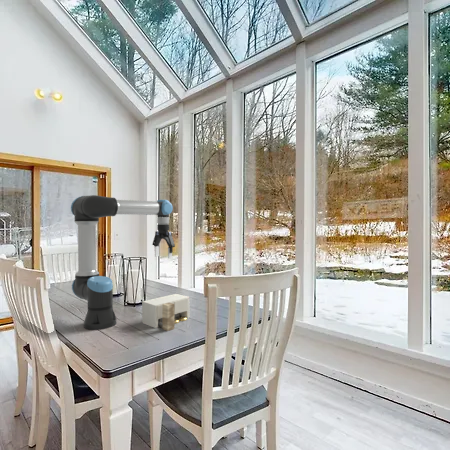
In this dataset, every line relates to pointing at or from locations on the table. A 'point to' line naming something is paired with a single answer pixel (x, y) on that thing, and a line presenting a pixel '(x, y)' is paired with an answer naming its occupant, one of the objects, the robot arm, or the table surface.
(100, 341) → the table surface
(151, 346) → the table surface
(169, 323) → the hook
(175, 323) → the golden knob
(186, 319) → the gold domed disc
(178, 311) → the cabinet
